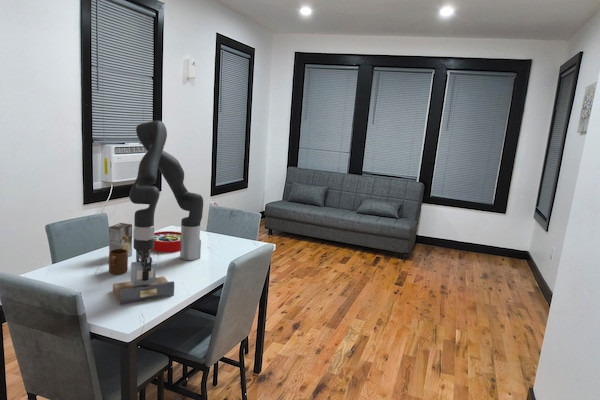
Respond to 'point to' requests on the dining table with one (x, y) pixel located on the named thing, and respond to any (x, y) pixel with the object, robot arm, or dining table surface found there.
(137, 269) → the carton
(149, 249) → the robot arm
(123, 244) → the coffee box
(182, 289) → the dining table surface
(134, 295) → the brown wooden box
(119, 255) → the mug
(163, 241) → the toy clock
